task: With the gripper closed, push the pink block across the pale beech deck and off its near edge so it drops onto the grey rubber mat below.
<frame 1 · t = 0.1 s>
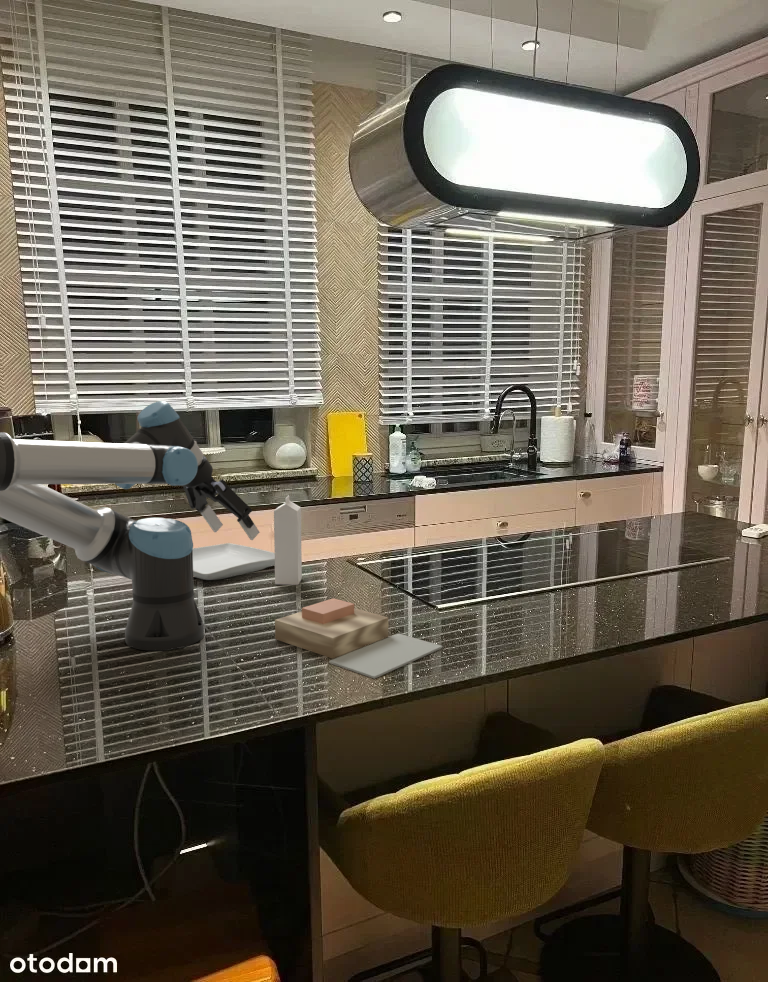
hand: (236, 532, 178), 15 cm above the countertop, tool tilted 35°, fingers open, 13 cm apart
milk: (288, 582, 192), on the countertop
square plate: (218, 569, 206), on the countertop
mat: (387, 655, 141), on the countertop
deck: (332, 637, 151), on the countertop
pink block: (328, 615, 152), point 4 cm above the countertop, touching deck
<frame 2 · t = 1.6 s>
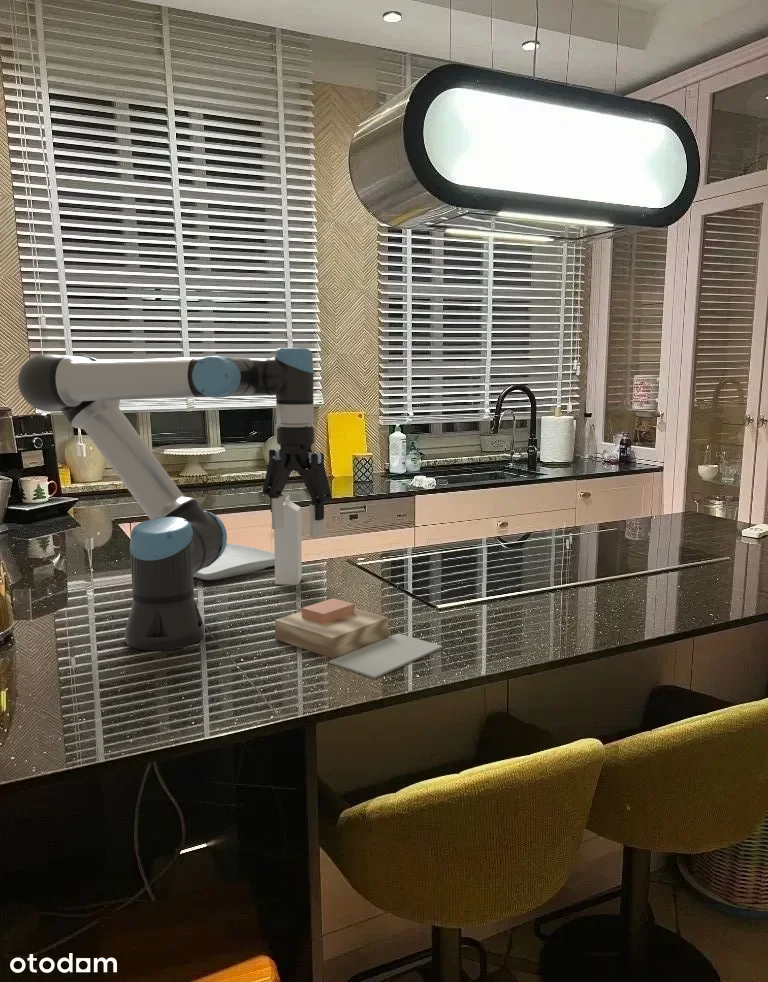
hand: (296, 531, 156), 20 cm above the countertop, tool pointing down, fingers open, 11 cm apart
nothing on the countertop moved.
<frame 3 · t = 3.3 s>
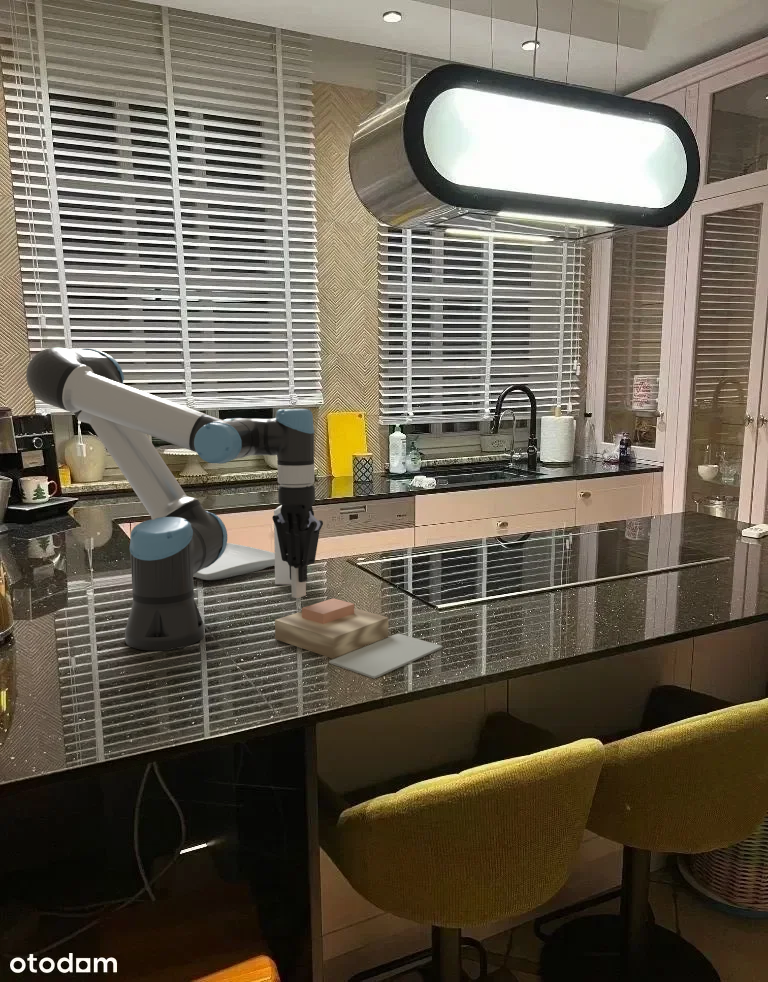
hand: (298, 595, 157), 6 cm above the countertop, tool pointing down, fingers closed
nothing on the countertop moved.
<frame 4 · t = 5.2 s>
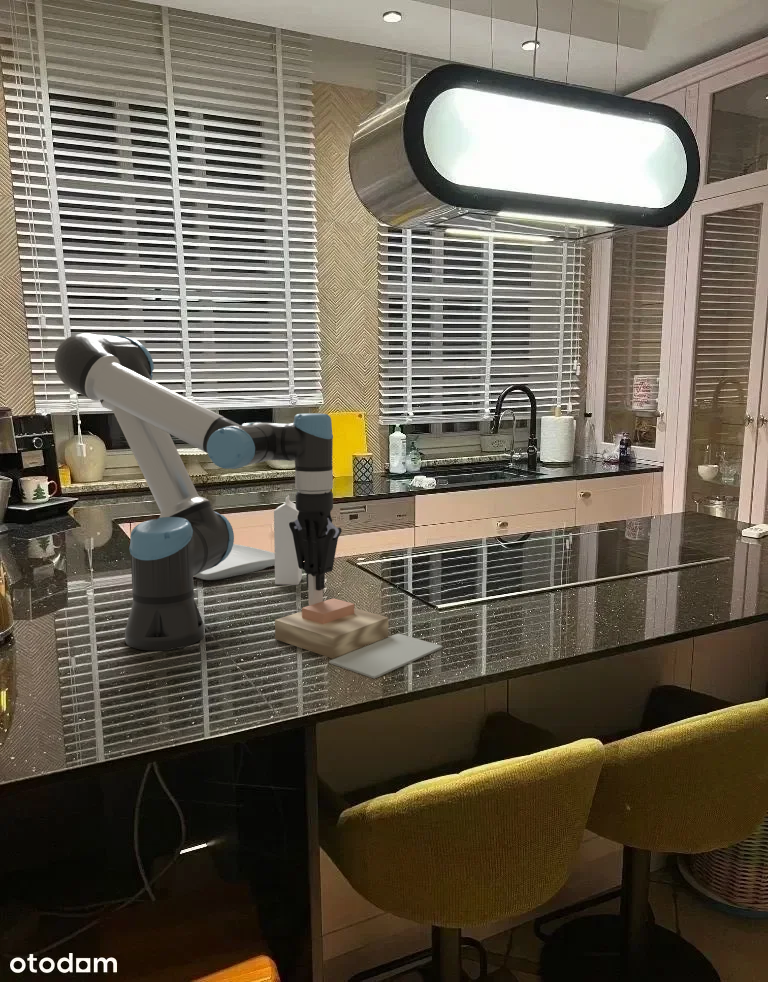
hand: (315, 604, 154), 6 cm above the countertop, tool pointing down, fingers closed
pink block: (328, 615, 152), point 4 cm above the countertop, touching deck, gripper
everything else where it was.
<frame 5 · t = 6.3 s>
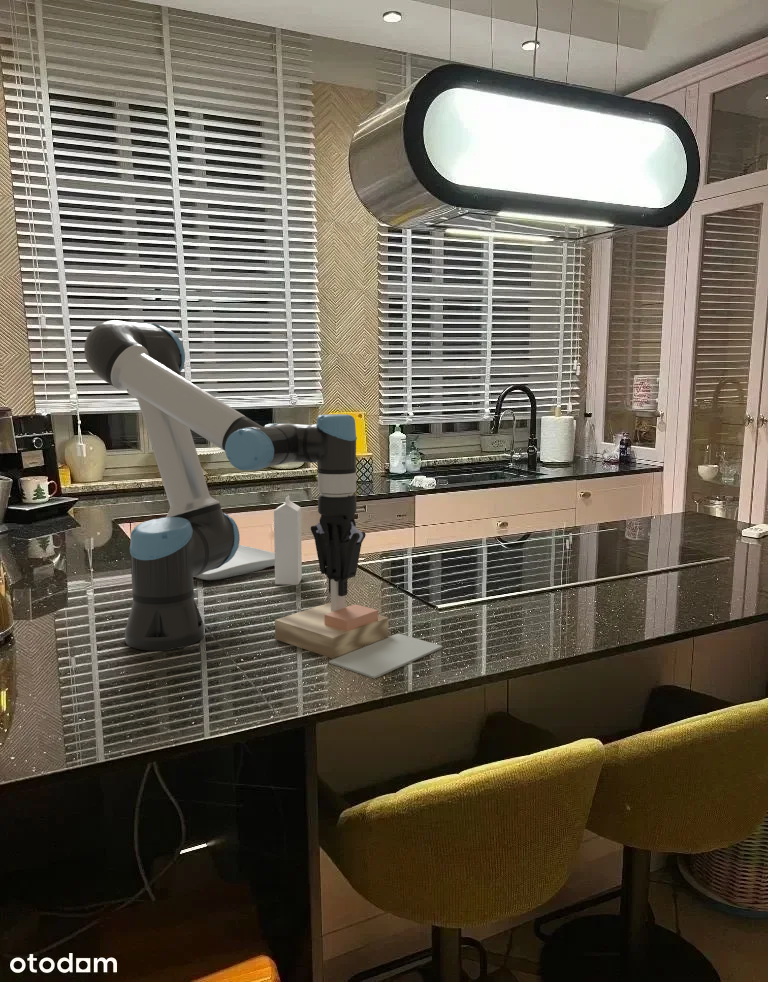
hand: (338, 610, 150), 6 cm above the countertop, tool pointing down, fingers closed
pink block: (351, 622, 148), point 4 cm above the countertop, touching deck, gripper
everything else where it was.
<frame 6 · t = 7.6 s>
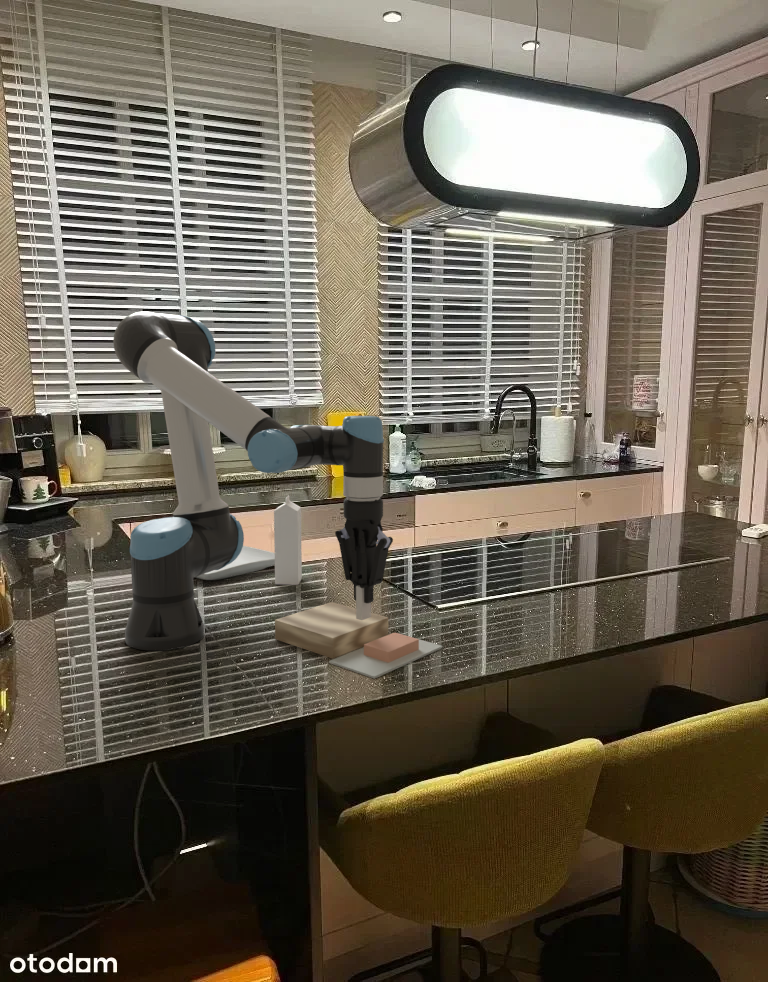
hand: (363, 617, 146), 6 cm above the countertop, tool pointing down, fingers closed
pink block: (391, 641, 142), point 2 cm above the countertop, tilted 180°, touching mat
everything else where it was.
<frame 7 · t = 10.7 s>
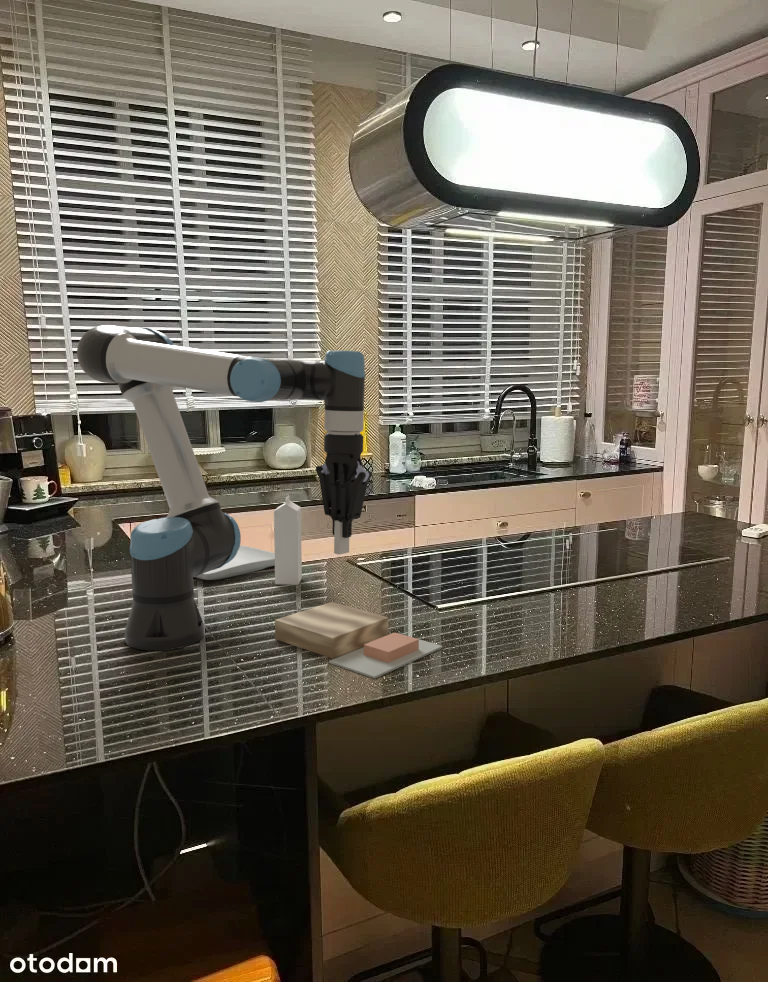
hand: (341, 552, 147), 18 cm above the countertop, tool pointing down, fingers closed
nothing on the countertop moved.
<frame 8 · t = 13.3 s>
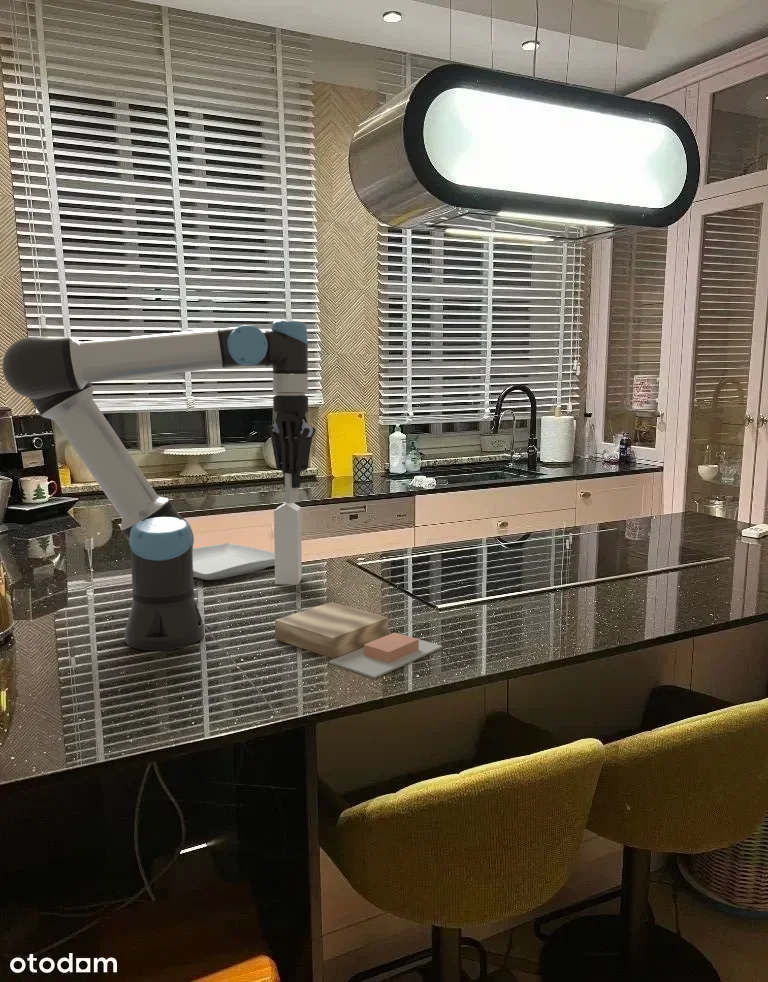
hand: (292, 502, 166), 24 cm above the countertop, tool pointing down, fingers closed
nothing on the countertop moved.
at the end: pink block inside the target area on the mat (1.0 cm from its centre), point 2.4 cm above the mat's base; pink block point 2.4 cm above the countertop; pink block touching mat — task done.
